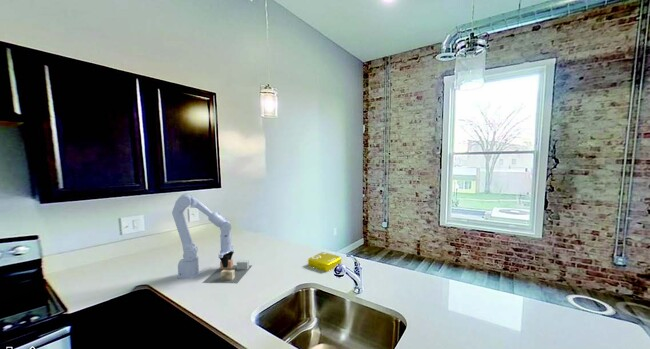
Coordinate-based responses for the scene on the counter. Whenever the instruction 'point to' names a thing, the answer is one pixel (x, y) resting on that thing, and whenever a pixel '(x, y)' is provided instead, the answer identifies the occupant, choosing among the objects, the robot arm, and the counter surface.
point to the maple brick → (227, 274)
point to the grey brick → (243, 264)
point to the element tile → (324, 261)
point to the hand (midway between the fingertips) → (226, 265)
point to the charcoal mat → (217, 279)
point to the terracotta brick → (230, 265)
